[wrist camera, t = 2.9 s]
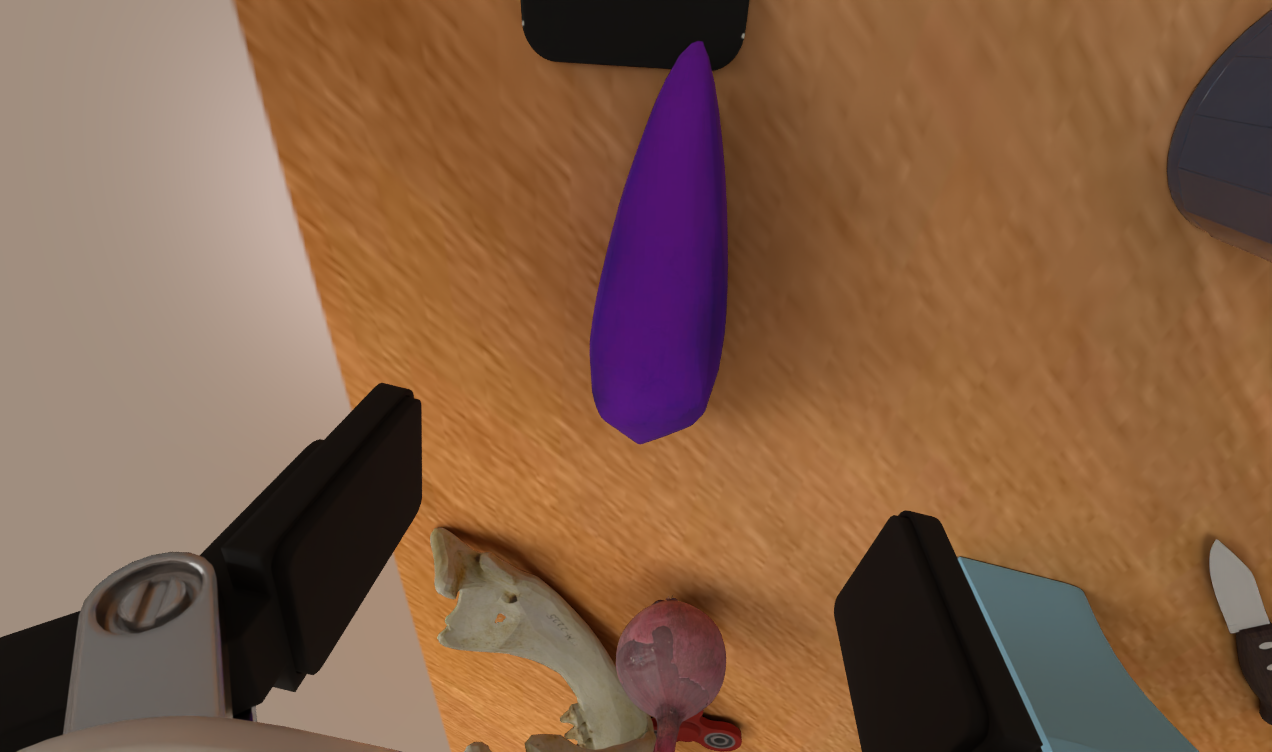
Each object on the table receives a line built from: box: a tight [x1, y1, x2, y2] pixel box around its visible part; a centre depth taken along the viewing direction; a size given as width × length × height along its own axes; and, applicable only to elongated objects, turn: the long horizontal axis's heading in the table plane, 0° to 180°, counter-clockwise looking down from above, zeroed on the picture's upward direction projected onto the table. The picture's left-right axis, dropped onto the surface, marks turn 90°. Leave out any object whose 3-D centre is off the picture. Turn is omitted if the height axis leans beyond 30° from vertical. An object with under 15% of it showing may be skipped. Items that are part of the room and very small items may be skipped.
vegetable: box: [616, 595, 726, 752], centre depth 29 cm, size 6×6×10 cm
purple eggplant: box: [590, 41, 728, 444], centre depth 20 cm, size 5×5×15 cm
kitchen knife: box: [1209, 540, 1272, 725], centre depth 30 cm, size 18×1×2 cm
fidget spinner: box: [651, 710, 742, 751], centre depth 41 cm, size 8×7×1 cm
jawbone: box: [430, 527, 656, 752], centre depth 33 cm, size 25×18×10 cm
